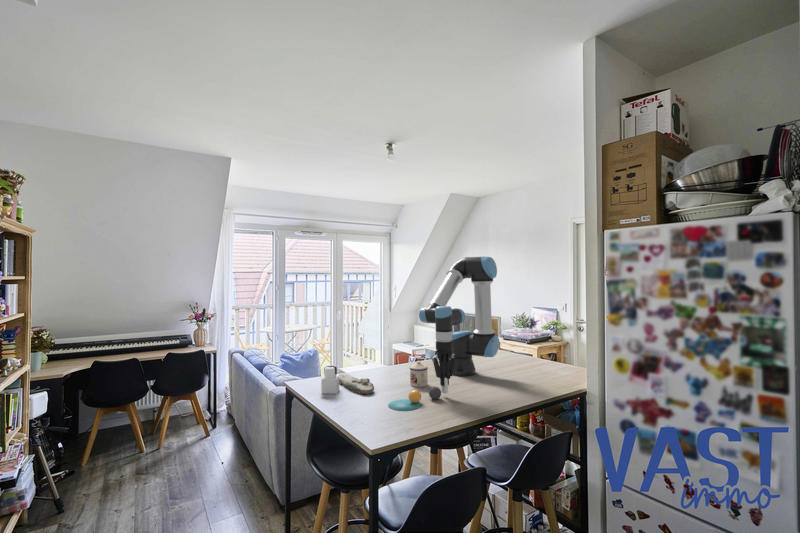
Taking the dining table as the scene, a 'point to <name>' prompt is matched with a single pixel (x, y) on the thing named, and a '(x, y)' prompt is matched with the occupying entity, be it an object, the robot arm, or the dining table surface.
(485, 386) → the dining table surface
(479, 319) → the robot arm
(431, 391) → the dark grey ball
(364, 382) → the long grey stone
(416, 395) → the object ball
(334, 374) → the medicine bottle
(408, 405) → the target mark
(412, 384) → the teacup with lid
